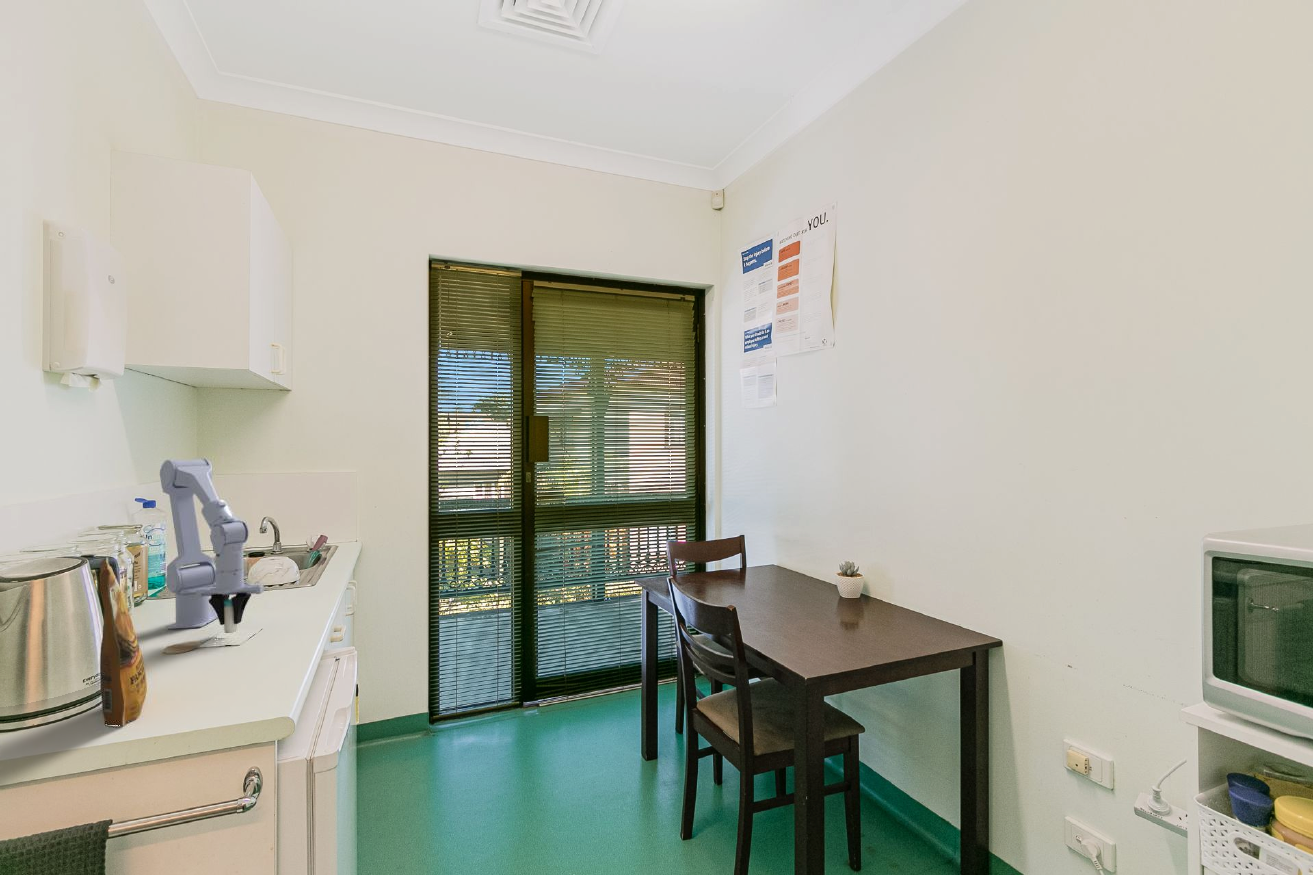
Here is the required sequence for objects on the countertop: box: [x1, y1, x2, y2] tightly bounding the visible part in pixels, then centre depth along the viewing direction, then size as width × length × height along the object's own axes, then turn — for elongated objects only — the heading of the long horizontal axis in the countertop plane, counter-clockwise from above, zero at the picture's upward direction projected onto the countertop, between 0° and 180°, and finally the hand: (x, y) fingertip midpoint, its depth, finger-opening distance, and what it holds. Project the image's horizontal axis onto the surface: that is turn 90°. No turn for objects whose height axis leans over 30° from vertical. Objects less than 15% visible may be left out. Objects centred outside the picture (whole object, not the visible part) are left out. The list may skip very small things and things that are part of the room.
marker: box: [223, 598, 238, 633], centre depth 151 cm, size 3×3×8 cm
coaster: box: [162, 641, 202, 655], centre depth 141 cm, size 7×7×1 cm
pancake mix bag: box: [99, 556, 148, 727], centre depth 109 cm, size 7×19×28 cm, turn 36°
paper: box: [197, 632, 250, 649], centre depth 148 cm, size 12×9×1 cm
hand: (230, 623), depth 151 cm, fingers closed on marker, 3 cm apart
